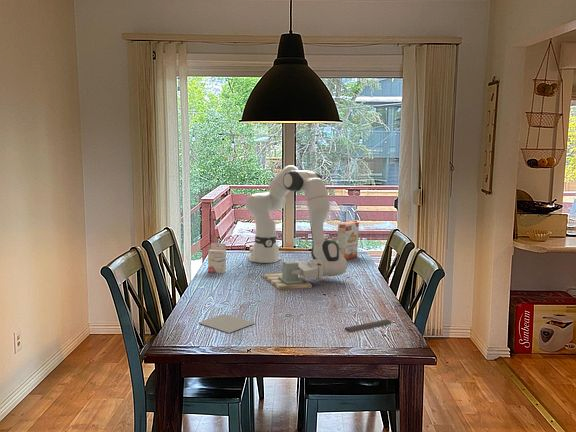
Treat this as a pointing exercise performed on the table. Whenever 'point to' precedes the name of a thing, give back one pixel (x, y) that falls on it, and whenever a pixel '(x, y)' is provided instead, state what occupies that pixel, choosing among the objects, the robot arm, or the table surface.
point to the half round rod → (368, 325)
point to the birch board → (282, 286)
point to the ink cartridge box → (217, 258)
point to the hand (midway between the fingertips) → (288, 270)
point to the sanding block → (289, 273)
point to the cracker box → (348, 239)
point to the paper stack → (226, 323)
